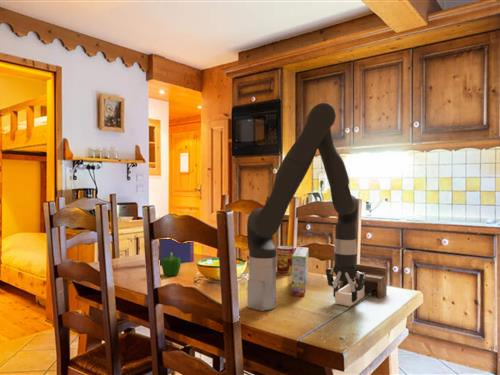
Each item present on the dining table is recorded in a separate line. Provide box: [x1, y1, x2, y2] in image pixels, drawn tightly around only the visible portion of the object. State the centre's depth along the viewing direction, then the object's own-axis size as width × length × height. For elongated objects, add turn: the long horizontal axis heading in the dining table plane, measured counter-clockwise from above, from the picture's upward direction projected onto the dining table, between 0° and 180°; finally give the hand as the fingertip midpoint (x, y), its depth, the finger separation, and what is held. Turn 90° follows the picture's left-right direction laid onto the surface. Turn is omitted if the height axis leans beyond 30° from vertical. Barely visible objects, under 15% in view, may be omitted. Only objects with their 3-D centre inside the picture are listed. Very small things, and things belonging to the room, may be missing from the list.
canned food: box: [276, 245, 295, 276], centre depth 178 cm, size 8×8×12 cm
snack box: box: [290, 246, 310, 297], centre depth 153 cm, size 21×6×15 cm, turn 168°
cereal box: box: [158, 217, 195, 266], centre depth 200 cm, size 17×5×24 cm, turn 120°
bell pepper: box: [161, 253, 181, 277], centre depth 173 cm, size 8×8×10 cm
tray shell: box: [334, 284, 365, 307], centre depth 137 cm, size 14×6×4 cm, turn 145°
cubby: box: [338, 263, 388, 299], centre depth 147 cm, size 7×16×10 cm, turn 54°
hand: (345, 299), depth 133 cm, fingers closed on tray shell, 5 cm apart
